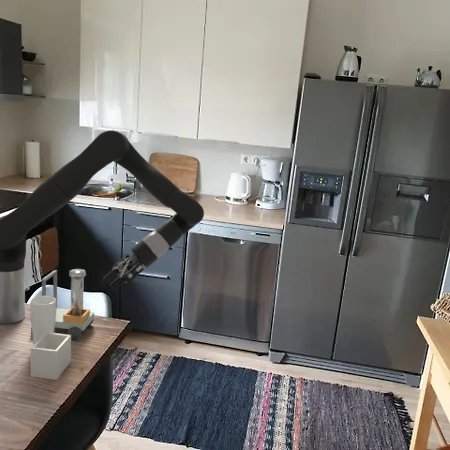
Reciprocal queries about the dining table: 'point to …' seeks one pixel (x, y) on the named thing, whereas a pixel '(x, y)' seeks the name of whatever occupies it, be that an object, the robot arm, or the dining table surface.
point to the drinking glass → (42, 316)
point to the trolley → (68, 313)
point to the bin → (50, 355)
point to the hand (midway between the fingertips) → (108, 284)
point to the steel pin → (77, 291)
